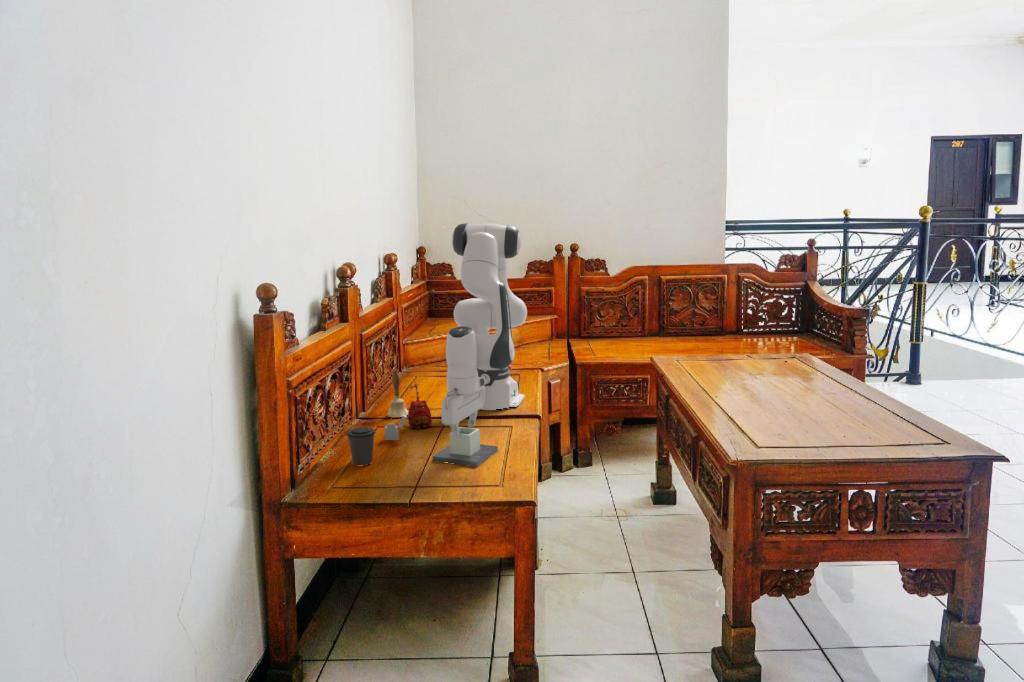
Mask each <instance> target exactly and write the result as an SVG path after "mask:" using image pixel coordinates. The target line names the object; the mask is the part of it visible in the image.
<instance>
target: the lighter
mask: <svg viewBox="0 0 1024 682" xmlns="http://www.w3.org/2000/svg"><path fill="white" fill-rule="evenodd" d="M407 419H408V417H407V415H405V414H403V417H402V418H400V421H399V424H398V425H395V422H391V423H387V424H386V425H385V426H384V441H385V440H398V439H399V440H400V432H399V430H400V429H403V427H404V425H405V423H406V421H407ZM399 440H398V441H399Z"/></svg>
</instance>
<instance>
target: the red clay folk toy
mask: <svg viewBox="0 0 1024 682" xmlns="http://www.w3.org/2000/svg"><path fill="white" fill-rule="evenodd" d="M414 382H415V384H414V385H410V386H409V387H410V389H413V388H415V390H416V392H415V393H416V401H413V400H412V401H411V402H410V406H409V408H408V417H407V419H408V421H407V423H408V425H409V428H410V429H412V430H414V429H415V430H418V429H423V430H424V429H428V428H431V424H432V413H431V409H430V407H429V405H428V404H427V401H426V400H424V399H423V400H420V397H419V394H420V393H419V392H420V391H418V385H419V383H418V384H417V381H416V380H415V381H414Z"/></svg>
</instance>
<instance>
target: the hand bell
mask: <svg viewBox="0 0 1024 682" xmlns="http://www.w3.org/2000/svg"><path fill="white" fill-rule="evenodd" d="M400 379H401V377H400V375H399V372H398V369H397V370H396V369H395V370H393V371H392V376H391V380H392V381H391V382H392V386H393V389H394V398H393V399H392V400H391V401H390V409H389V411H388V412H387V413H388V414H387V413H386V415H389V416H391V417H403V414H405V415H408V411H409V409H408V408H407V407H406V404H405V400H404V399H403V398H401V397H400V384H401V380H400Z"/></svg>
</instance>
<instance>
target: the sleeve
mask: <svg viewBox="0 0 1024 682" xmlns="http://www.w3.org/2000/svg"><path fill="white" fill-rule="evenodd" d="M458 428H459V430H461V433H470V434H469V435H468V434H461V435H460V436H459V437H453V431H452V430H451V432H449V445H450V453H452V454H459V455H467V456H471V455H472V454H474V453H475V452H476V451H478V450H479V449H480V444H481V438H480V437H481V435H480V434H481V433H480V431H481V430H480V428H474V427H465V426H458Z"/></svg>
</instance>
